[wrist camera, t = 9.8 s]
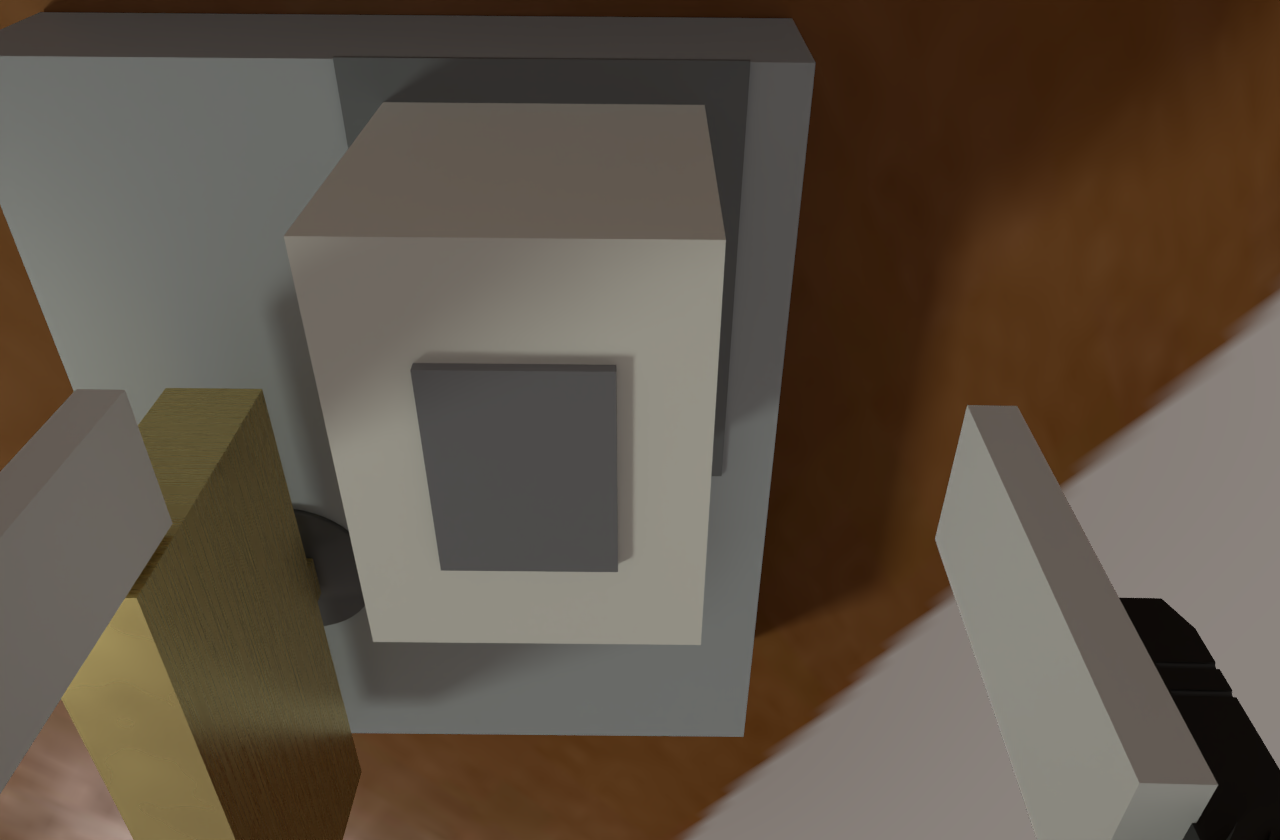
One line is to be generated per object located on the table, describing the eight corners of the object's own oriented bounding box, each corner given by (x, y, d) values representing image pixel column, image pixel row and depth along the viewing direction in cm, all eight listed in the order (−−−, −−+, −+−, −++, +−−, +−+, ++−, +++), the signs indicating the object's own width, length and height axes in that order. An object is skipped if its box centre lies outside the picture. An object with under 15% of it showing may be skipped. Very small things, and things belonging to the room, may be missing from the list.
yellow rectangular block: (371, 736, 28) (299, 995, 23) (303, 735, 28) (213, 994, 23) (280, 358, 21) (137, 598, 15) (188, 357, 21) (9, 597, 15)
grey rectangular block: (432, 446, 23) (371, 650, 18) (383, 102, 18) (279, 242, 13) (689, 449, 23) (701, 653, 18) (704, 104, 18) (726, 245, 13)
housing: (247, 642, 32) (205, 737, 29) (39, 9, 21) (-67, 55, 17) (734, 646, 32) (744, 742, 29) (792, 16, 20) (816, 63, 17)
